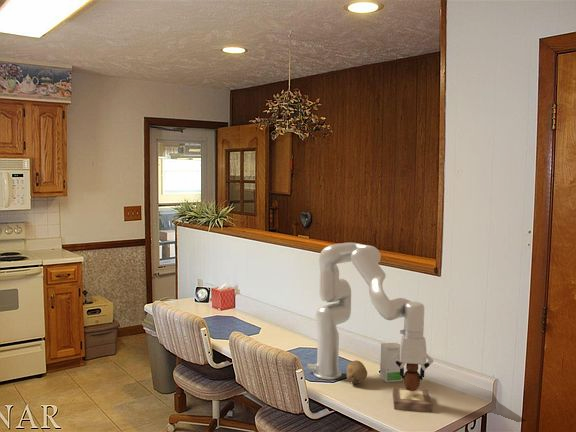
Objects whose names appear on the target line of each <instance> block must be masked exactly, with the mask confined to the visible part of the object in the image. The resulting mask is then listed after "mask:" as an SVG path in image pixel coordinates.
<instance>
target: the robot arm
mask: <svg viewBox="0 0 576 432" xmlns="http://www.w3.org/2000/svg"><path fill="white" fill-rule="evenodd" d="M381 256H382V255H381V252H380V251H379V249H378V248H377V247H375V246H373V245H369V244H364V243H363V244H362V243H357V242H343V243H342V242H340V243H335V244H331V245H327V246H326V247H324V248H323V249H322V250H321V251H320V254H319V258H318V259H319V260H318V261H319V262H318V264H319V297H320V300H321V301H323V302H324V303H329V304H326V305H323V306H321V307H319V308H318V309H317V311H316V313H315V319H316V320H315V322H316V328H317V350H316V351H317V353H316V354H317V355H316V357H317V358H316V363H314V364H313V363H307V366H306V369H309V370H310V371H313V376H314V377H316V378H318V379H321V380H336V379H339V378H341V377H342V373H343V372H342V371H341V370H340V369H339V355H340V352H339V351H340V336H339V331H338V329H337V326H338V325H340V324H343V323H346V322H347V321H348V320H349V319H350V317H351V314H352V288H351V286H350V283H349V282H348V281H347V280H346V279H344V278H340V271H339V266H338V264H343V263H344V264H346V263H349V262H350V263H352V264H353V266H354V267H355V268H356V270H357V272H358V273H359V275H360V276H361V277H362V279H364V281H365V283H366V284H367V286H368V294H369V298H370V301H371V303H372V305H373V306H374V308H375V309H376V311H377V312H378V314H379V315H380V316H381V317H382V318H383V319H384V320H387V321H393V320H397V319H400V318H404V319H403V329H400V331H399V334H400V335H402V336H401V340H400V343H399V344H400V351H399V352H398V353H397V354H395V355H394V356H393V357H392V359H393V360H394V362H395V363H396V364H397V365H398V366H399V367H400V376H401V377H402V380H403V379H404V374H405V368H404V366H405V365H406V364H418V365H420V370H419V374H420V381H423V380H424V379H423V378H425V373H426V372H425V371H426V369H428V368H429V367H430V365H432V363H434V359H433V358H432V357H431V356H430V355H429V354H428V353H427V340H426V338H425V337H424V329H425V326H424V325H425V306H424V304H423V303H422V302H419V301H412V300H409V299H406V298H405V297H398V298H394V299H389V297H388V296H387V294H386V292H385V290H384V288H383V287H384V286H383V283H384V280H385V279H386V275H387V274H386V272H385V271H384V270H383V268H382V267H381V266H380V264H379V263H380V261H381ZM399 356H400V361H401V362H399V361H398V360H397V358H398V357H399ZM427 360H428V361H427Z"/></svg>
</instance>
